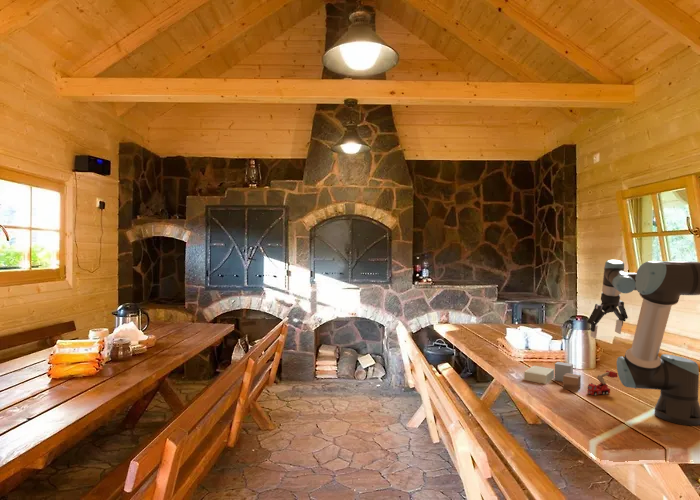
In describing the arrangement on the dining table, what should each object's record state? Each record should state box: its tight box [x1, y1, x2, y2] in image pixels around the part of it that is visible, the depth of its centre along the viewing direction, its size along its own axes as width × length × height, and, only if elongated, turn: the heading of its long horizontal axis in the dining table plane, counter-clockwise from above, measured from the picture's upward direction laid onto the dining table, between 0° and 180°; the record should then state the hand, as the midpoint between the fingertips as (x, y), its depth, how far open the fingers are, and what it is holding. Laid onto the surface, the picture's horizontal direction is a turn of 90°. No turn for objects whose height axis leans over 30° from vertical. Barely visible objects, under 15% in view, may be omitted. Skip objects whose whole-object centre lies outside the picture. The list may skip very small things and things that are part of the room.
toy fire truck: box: [587, 370, 618, 396], centre depth 199 cm, size 3×14×10 cm, turn 105°
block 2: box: [562, 373, 582, 392], centre depth 205 cm, size 6×6×6 cm
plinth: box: [523, 365, 555, 385], centre depth 220 cm, size 14×10×4 cm
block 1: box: [554, 361, 574, 382], centre depth 218 cm, size 5×7×8 cm
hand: (605, 334), depth 211 cm, fingers open, 13 cm apart
